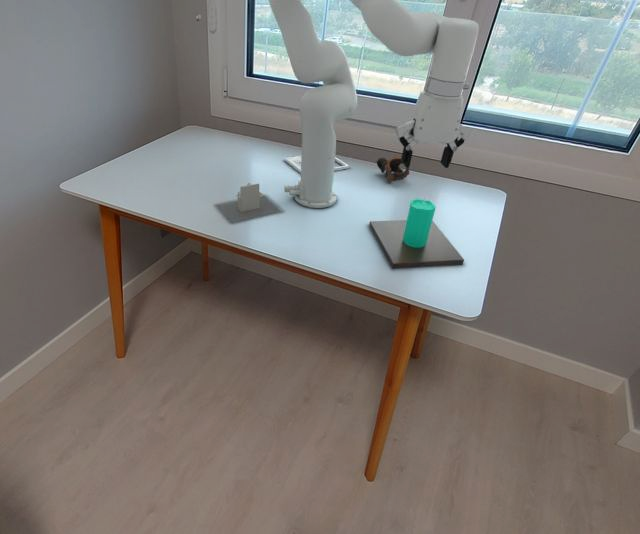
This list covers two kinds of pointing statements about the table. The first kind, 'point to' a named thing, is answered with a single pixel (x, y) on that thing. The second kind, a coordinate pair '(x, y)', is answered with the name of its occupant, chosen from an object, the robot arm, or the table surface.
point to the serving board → (406, 256)
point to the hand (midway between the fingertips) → (424, 165)
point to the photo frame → (296, 163)
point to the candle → (418, 223)
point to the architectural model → (248, 205)
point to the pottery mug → (392, 168)
